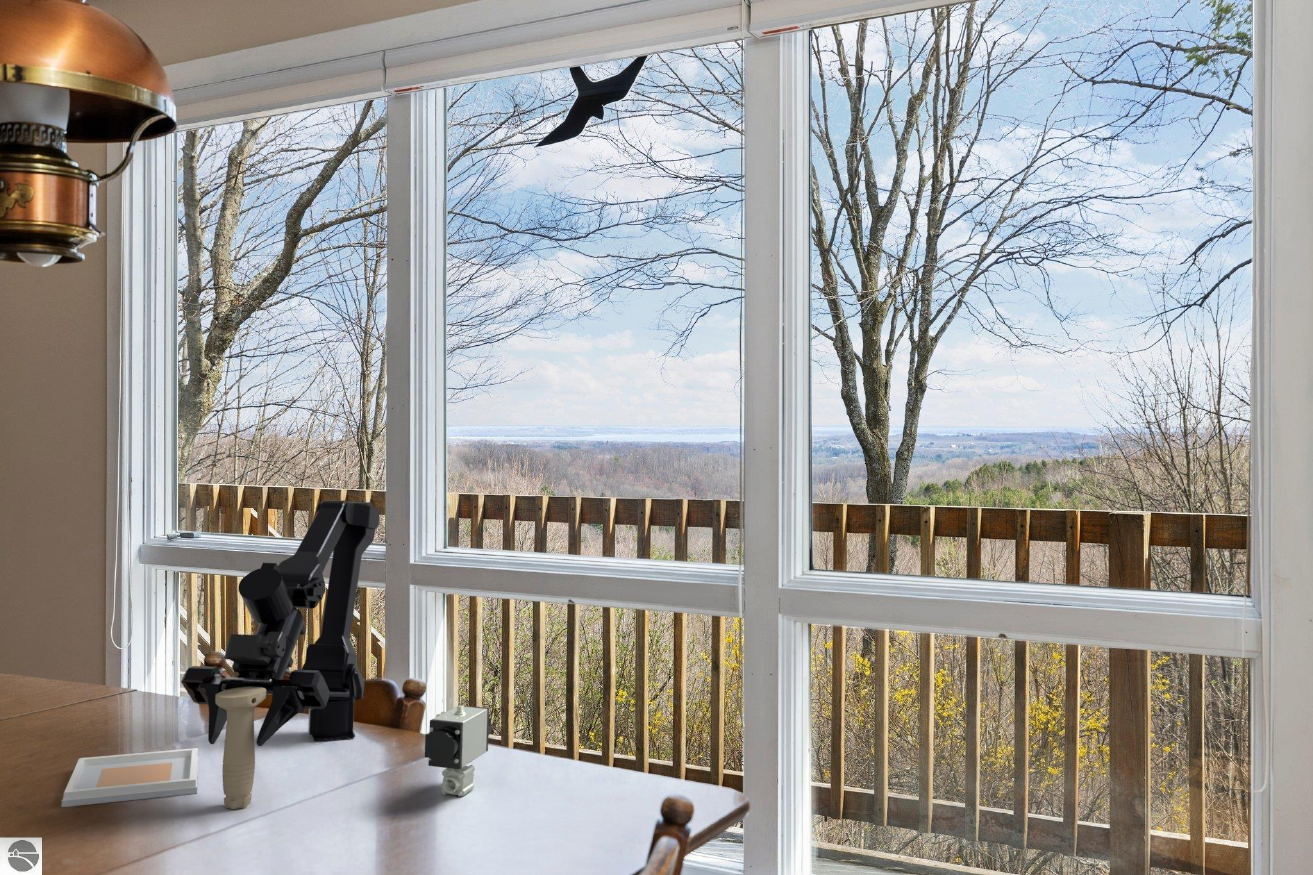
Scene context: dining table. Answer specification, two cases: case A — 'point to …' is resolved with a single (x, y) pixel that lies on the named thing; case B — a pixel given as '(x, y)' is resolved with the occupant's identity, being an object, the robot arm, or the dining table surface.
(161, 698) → the dining table surface
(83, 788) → the white shallow tray
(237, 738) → the handle
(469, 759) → the pneumatic valve
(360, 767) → the dining table surface
